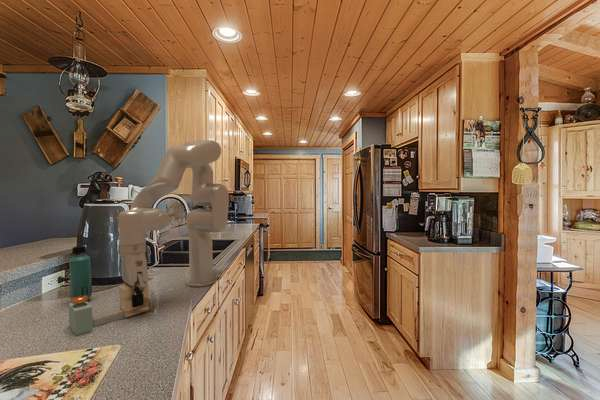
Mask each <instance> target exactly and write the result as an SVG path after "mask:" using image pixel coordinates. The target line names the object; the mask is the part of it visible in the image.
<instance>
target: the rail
mask: <svg viewBox="0 0 600 400" xmlns="http://www.w3.org/2000/svg"><path fill="white" fill-rule="evenodd" d="M148 306H149V311H150V312H151V311H153V300H151V299H150V298H149V305H148ZM149 311H148V312H149ZM92 317H93V328H95V327H98V326H101V325H105V324H107V323H108V322H109V323H112V322H114V321H115V322H116V321H118V320H121V319H125V318H126V317H125V311H124V310H123V309H120V308H119V309H116V310H113V311H109V312H105V313H100V314H98V315H93V316H92Z"/></svg>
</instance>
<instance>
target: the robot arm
mask: <svg viewBox="0 0 600 400" xmlns="http://www.w3.org/2000/svg"><path fill="white" fill-rule="evenodd" d="M221 154H222V148H221V145H220V143H218V141H216V140H212V139H209V140H194V141H193V140H192V141H186V142H184V143H183V144H182V145H175V146H171V147H169V148H168V149H167V150H166V153H165V154H164V156H163V159H162V160H161V161H162V162H161V164H160V166H159V167H158V170H157V171H156V172H157V173H156V175H155V177H154V178H153V180H152V181H150V182H149V183H148V184H147V185H145V186H144V188H143V189H141V190H140V191H139V192H138V194H137V195H136V196H135V197H134V199H133V201H132V204H131V205H130V208H129V209H128V210H124V211H120V212H119V214H118V236H119V237H118V241H119V243H118V245H119V246H118V248H119V249H118V250H119V255H120V256H121V278H122V281H123V282H124V285H127V284H129V285H131V286H132V289H133V295H132V307H133V308H134V307H138V306H142V305H143V304H144V301H143V293H144V291H143V290H144V287H145V284H144V283H147V284H148V282H149V275H148V264H147V257H146V253H147V241H146V240H147V239H146V238H147V237H146V236H147V235H146V232H148V231H150V232H151V231H154V232H155V231H162V230H164V229H165V228H167V226H168V225H169V224H170V220H171V217H170V215H169V213H168V212H167V211H166V210H164V209H161V208H152V206H153V205H154V204H155V202H157V201H158V200H160V199H161V198H162V197H164V196H166V195H169V194H171V193H172V192H175V191H177V189H178V188H179V186H180V183H181V181H182V178H183V176H184V173H185V171H186V169H191V171H192V184H191V201H192V203H193V204H195V206H202V207H211V209H210V208H195V209H191V210H190V211H188V213H187V215H186V216H185V225H186V228H187V233H188V259H189V260H188V263H189V264H188V265H189V277H188V278H187V279H186V280H185V284H186V286H188V287H195V288H196V287H197V288H198V287H207V286H210V285H213V284H215V283H216V282H217V277H216V276H217V275H222V274H223V269H218V270H217V269H213V267H214V264H213V263H214V261H213V257H214V256H213V239H212V236H211V234H210V233H221V232H223V231H224V230H225V229H226V228H227V225H228V219H229V218H228V217H229V203H230V201H229V200H230V197H229V196H230V195H229V191H228V188H227V187H226V186H225V185H224V184H222V183H214V170H213V168H212V166H211V165H210V164H212V163H214V162H216V161H218V159H220V157H221V156H222V155H221ZM137 282H138V284H136V285H135V283H137ZM136 286H138V288H137V289H136V288H135V287H136Z"/></svg>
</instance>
